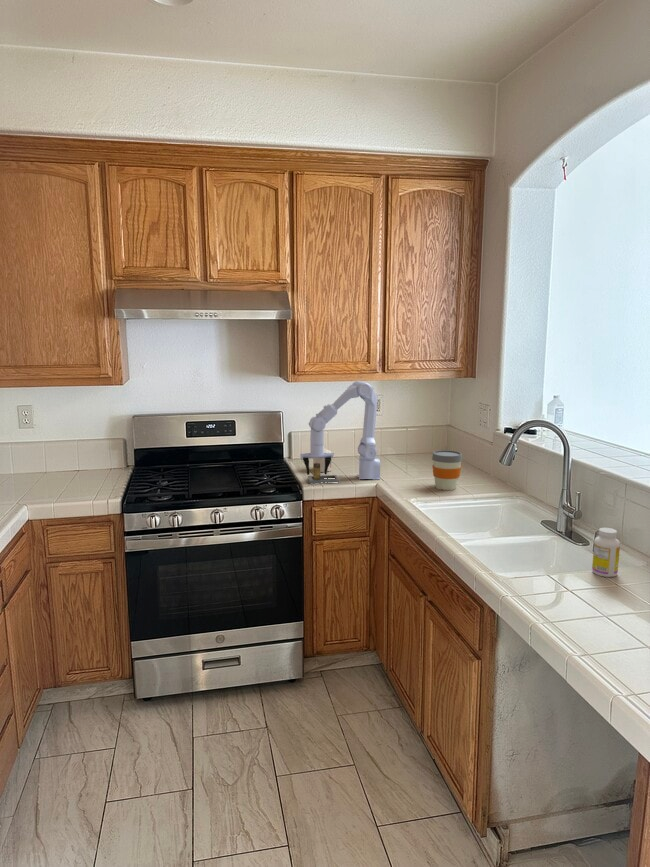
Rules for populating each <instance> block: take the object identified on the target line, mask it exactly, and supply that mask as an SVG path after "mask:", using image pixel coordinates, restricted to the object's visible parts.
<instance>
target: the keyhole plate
mask: <svg viewBox="0 0 650 867" xmlns="http://www.w3.org/2000/svg"><path fill="white" fill-rule="evenodd" d="M324 478H327V479H324ZM328 478H335V479H328ZM308 480H309V481H308ZM307 481H308V484H309V483H321V482H323V483H325V482H327V484H329V483H328V482H339V483H340V480H339V477H338V476H337V475H336V474H334V475H333V474H332V475H331V474H330V475H328V474H323V475H320V479H313V475H307Z"/></svg>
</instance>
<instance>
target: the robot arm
mask: <svg viewBox="0 0 650 867" xmlns="http://www.w3.org/2000/svg"><path fill="white" fill-rule="evenodd" d="M356 398H361V399H362V400H363V401H364V415H363V416H364V417H363V426H362V428H363V429H362V437H361V438H360V440H359V445H358V447H357V453H358V454H359V458H358V459H359V461H358V464H359V465H358V474H357V475H358V476H357V478H358V477H359V478H358V479H359V480H360V479H373V480H381V461H380V458H376V457H377V456H378V450H377V443H376V442H377V441H376V440H375V433H376V432H375V431H376V423H377V411H378V410H377V409H378V397H377V395H376V393H375V391H374V387H373V386H372V385H371V384H370V383H369V382H364V381H362V380H356V381H354V382H352V384H350V385H349V386H348V387H347V389H345V390H344V392H342V394H340V395H339V396H338V398H337V399H336V400H335V401H334V402H333V403H332V404H327V405H324V406H323V408H322V409H321V410H320V411H319V413H315V416H312V417H311V418H310V419H309V422H308V426H309V429H310V445H309V446H310V447H309V448H310V452H306V453H300V455H299V456H300V460H303V461H302V462H304V466H305V468H306V473H307V476H310V459H313V458H325V470H324V475H328V472H327V469H328V466H329V464H330V462H331V463H332V459H334V453H333V452H332V453H323V446H324V430H325V428H326V424H328V423H329V422H330V421H331V420H332V419H333V418H334V417H335V416H337V415H338V410H339V409H341V407H343V406H344V405H345V404H346V403H347V402H349V401H350V399H356Z"/></svg>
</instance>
